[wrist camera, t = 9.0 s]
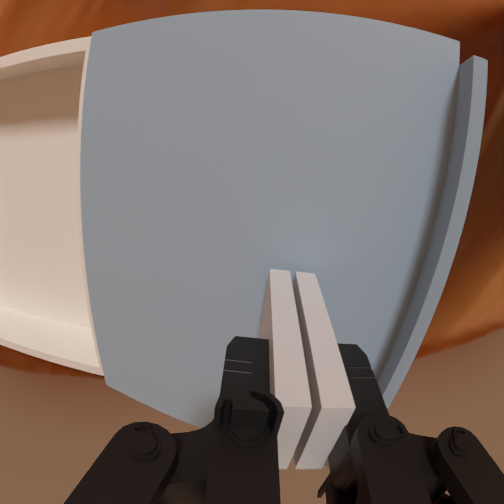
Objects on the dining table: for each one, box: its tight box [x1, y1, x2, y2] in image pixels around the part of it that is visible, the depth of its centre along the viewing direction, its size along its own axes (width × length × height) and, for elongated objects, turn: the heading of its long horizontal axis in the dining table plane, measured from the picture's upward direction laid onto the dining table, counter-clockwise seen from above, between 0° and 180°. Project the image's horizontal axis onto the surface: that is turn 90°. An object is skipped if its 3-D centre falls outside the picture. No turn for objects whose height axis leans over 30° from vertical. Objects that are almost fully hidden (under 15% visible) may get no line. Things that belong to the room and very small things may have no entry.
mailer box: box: [0, 36, 104, 376], centre depth 19 cm, size 16×22×5 cm
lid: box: [80, 10, 488, 466], centre depth 13 cm, size 16×22×2 cm
